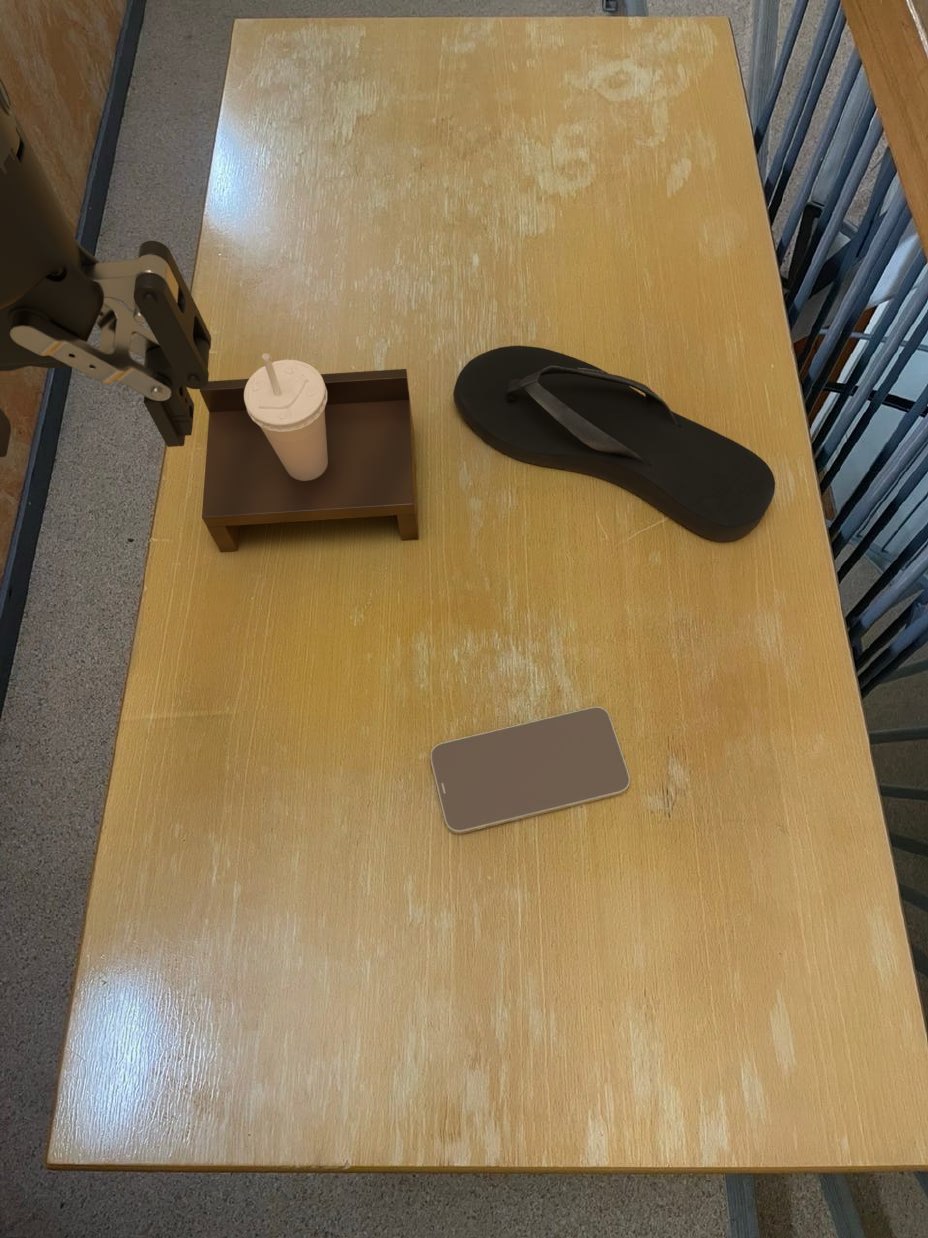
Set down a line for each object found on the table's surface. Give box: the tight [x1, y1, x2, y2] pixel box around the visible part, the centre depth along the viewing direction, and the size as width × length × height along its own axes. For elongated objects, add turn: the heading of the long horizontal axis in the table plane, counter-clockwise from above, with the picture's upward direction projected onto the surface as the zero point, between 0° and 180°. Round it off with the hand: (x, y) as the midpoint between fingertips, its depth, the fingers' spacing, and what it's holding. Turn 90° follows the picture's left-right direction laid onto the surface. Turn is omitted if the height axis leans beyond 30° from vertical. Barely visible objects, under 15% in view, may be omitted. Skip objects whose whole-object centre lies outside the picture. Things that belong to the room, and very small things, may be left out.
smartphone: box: [429, 706, 631, 835], centre depth 73 cm, size 7×1×15 cm
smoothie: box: [244, 353, 328, 481], centre depth 73 cm, size 6×6×14 cm
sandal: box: [452, 345, 776, 542], centre depth 84 cm, size 13×31×7 cm, turn 65°
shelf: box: [199, 368, 420, 553], centre depth 81 cm, size 18×12×9 cm, turn 93°
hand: (90, 437), depth 44 cm, fingers open, 8 cm apart
